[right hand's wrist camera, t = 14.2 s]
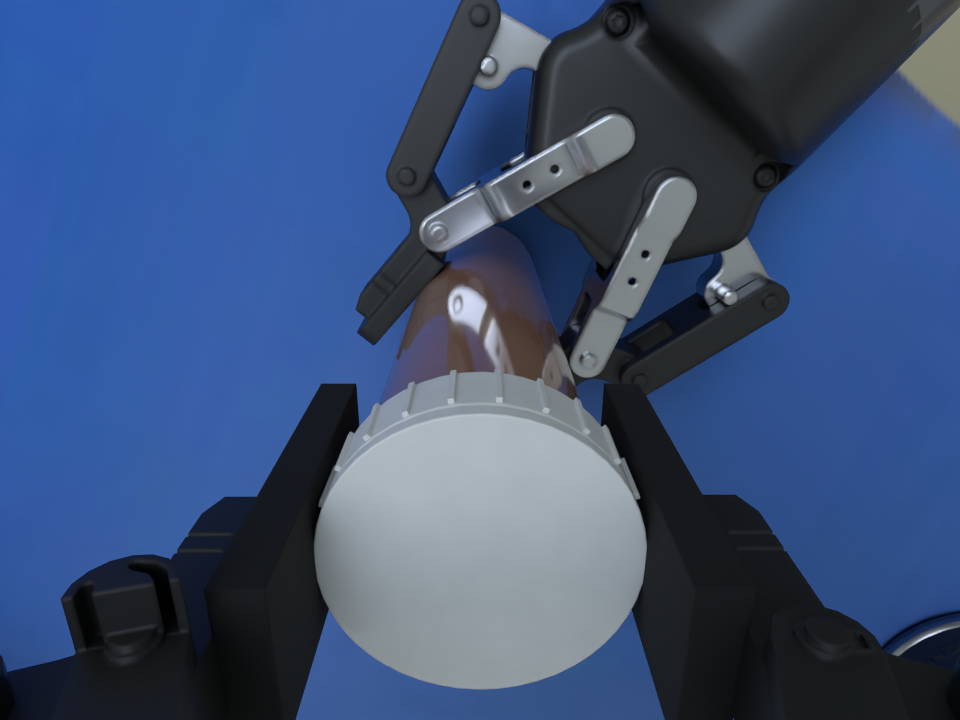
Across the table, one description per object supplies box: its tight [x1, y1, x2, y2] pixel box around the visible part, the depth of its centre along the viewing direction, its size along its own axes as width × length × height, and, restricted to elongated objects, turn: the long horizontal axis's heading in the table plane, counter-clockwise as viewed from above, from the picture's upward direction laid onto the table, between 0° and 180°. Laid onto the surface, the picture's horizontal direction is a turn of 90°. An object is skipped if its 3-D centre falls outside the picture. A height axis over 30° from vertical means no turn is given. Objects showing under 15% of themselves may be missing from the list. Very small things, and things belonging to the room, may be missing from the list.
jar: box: [379, 225, 583, 407], centre depth 20 cm, size 5×5×18 cm
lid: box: [314, 369, 647, 689], centre depth 11 cm, size 6×6×2 cm
